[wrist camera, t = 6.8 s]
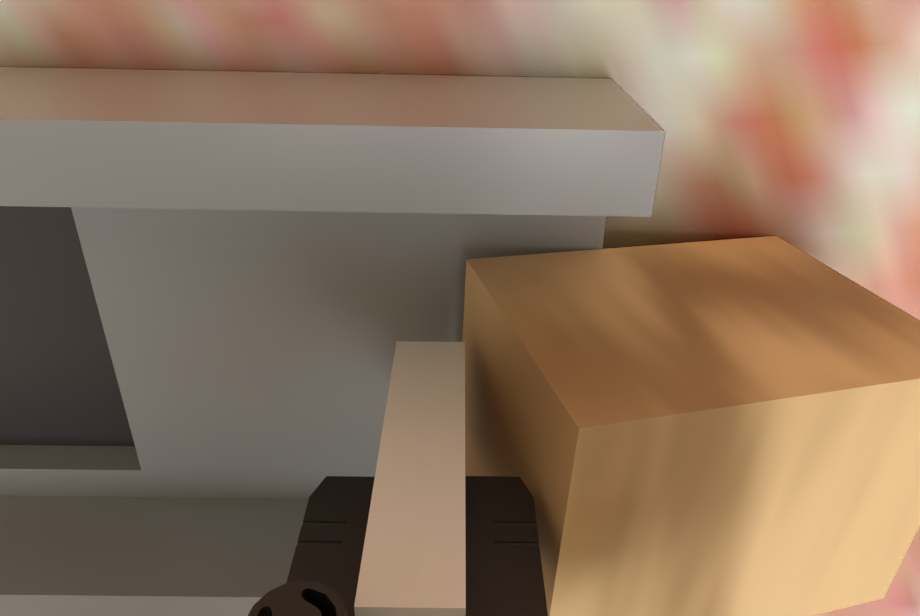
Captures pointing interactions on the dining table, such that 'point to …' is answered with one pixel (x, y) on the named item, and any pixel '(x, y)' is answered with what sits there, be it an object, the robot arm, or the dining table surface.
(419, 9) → the dining table surface
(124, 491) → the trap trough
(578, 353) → the wood block
